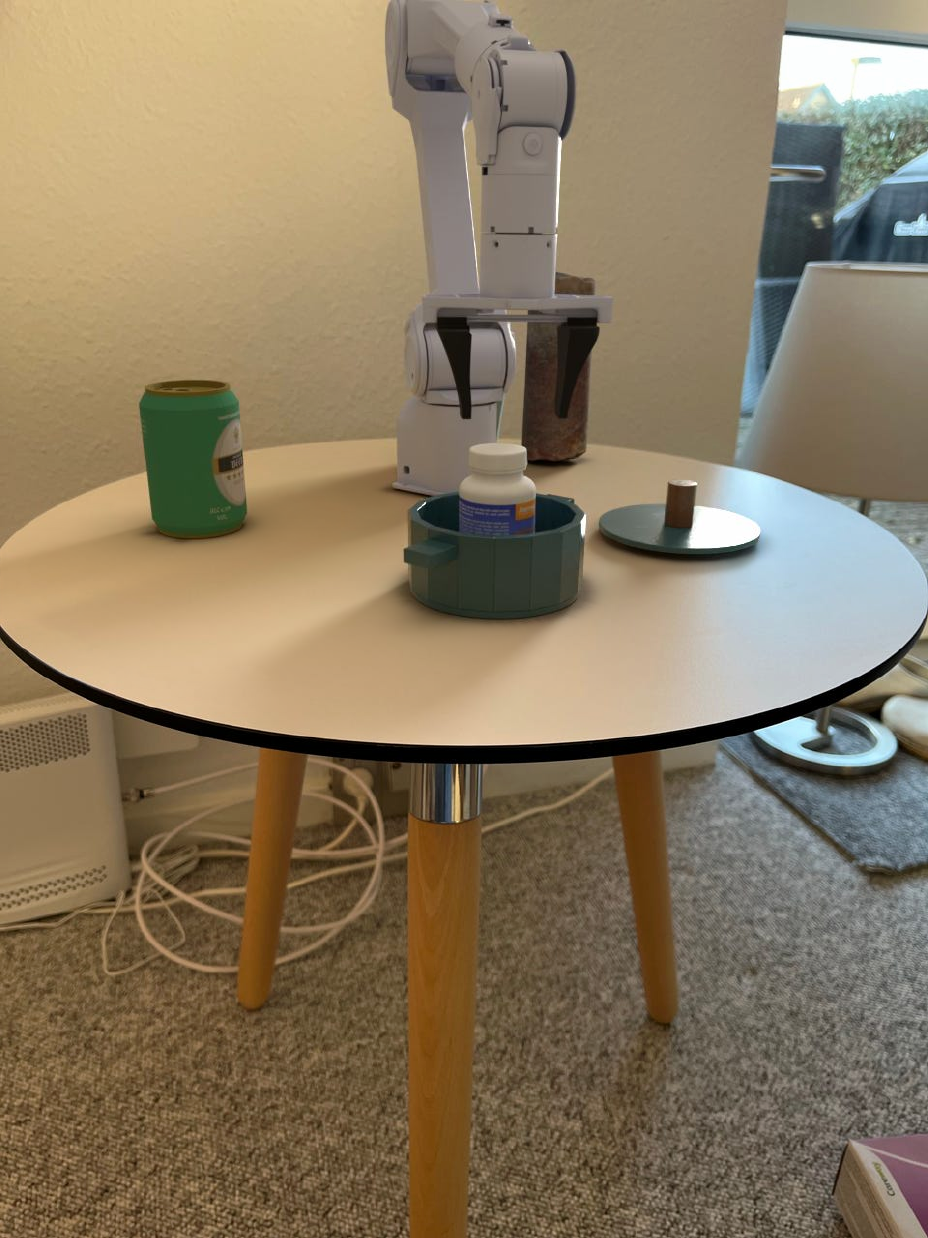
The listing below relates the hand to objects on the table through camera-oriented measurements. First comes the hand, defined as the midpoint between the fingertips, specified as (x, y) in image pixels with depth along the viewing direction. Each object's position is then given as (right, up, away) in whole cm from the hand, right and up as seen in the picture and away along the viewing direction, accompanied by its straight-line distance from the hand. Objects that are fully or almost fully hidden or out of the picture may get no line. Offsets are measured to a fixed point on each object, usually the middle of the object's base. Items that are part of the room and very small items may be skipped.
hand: (513, 416), depth 78 cm
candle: (+6, +2, +33) cm, 33 cm away
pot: (-2, -14, -7) cm, 16 cm away
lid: (+14, -9, +5) cm, 17 cm away
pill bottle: (-2, -14, -7) cm, 15 cm away
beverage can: (-27, -8, +7) cm, 29 cm away
